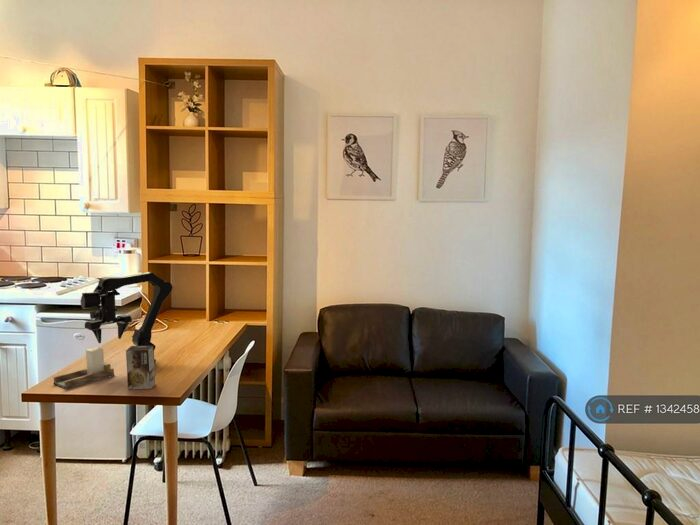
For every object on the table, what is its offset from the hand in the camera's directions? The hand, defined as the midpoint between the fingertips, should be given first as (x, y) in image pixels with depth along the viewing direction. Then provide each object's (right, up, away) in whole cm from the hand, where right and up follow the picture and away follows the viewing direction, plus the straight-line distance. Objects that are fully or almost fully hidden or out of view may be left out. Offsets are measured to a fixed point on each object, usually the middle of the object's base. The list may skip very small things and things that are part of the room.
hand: (109, 341), depth 224 cm
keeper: (-2, -13, -8) cm, 15 cm away
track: (-5, -14, -12) cm, 19 cm away
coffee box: (+22, -16, -19) cm, 33 cm away
